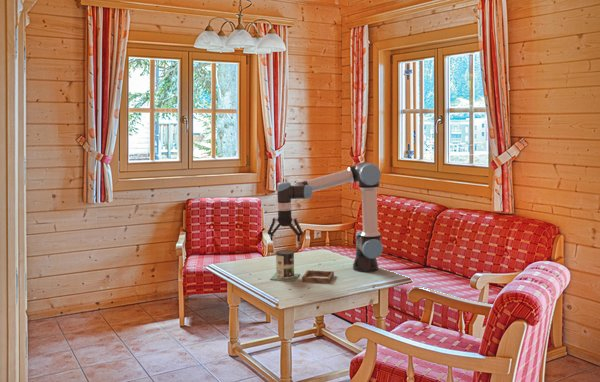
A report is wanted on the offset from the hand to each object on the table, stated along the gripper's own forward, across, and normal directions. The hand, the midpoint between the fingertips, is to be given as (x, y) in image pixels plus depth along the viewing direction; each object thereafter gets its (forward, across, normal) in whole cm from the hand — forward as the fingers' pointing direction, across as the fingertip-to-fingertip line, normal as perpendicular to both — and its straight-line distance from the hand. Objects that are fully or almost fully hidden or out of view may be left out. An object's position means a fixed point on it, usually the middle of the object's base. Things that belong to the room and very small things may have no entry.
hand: (285, 246), depth 333 cm
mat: (+18, -1, 0) cm, 18 cm away
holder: (+18, +18, +1) cm, 26 cm away
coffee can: (+17, -1, 0) cm, 17 cm away
